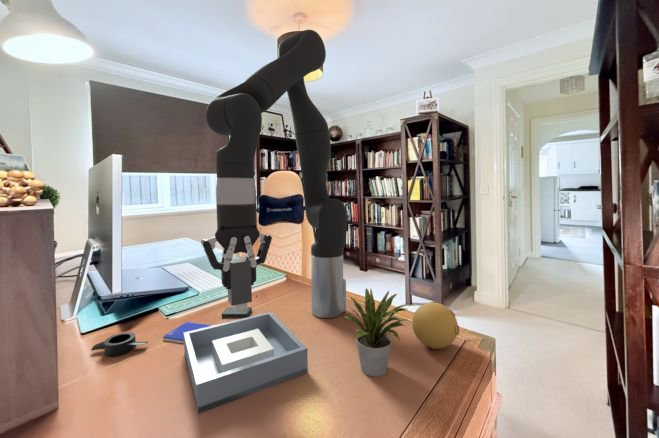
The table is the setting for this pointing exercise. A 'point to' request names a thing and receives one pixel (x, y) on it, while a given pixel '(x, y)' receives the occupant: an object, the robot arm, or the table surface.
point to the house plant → (375, 333)
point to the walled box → (241, 358)
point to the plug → (240, 284)
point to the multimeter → (236, 312)
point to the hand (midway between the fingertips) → (239, 285)
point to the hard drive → (182, 331)
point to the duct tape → (118, 344)
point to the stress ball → (435, 325)
